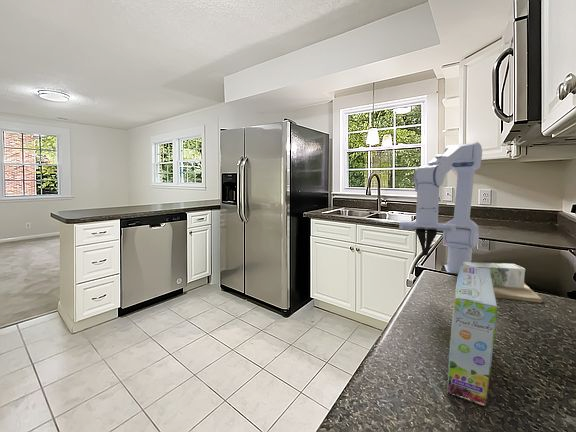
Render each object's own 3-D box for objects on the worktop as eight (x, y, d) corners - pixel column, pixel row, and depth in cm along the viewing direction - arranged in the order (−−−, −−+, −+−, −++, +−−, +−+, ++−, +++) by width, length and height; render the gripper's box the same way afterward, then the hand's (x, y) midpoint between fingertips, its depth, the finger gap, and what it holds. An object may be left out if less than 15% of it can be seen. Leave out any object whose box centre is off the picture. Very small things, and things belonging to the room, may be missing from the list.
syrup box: (461, 278, 92) (513, 281, 89) (469, 285, 86) (525, 288, 83) (462, 261, 91) (514, 263, 89) (470, 266, 85) (526, 268, 83)
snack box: (491, 411, 40) (499, 306, 38) (445, 395, 43) (451, 297, 41) (485, 340, 58) (490, 266, 56) (452, 333, 61) (456, 262, 59)
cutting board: (469, 279, 94) (469, 276, 94) (523, 285, 88) (523, 282, 88) (478, 295, 81) (478, 291, 81) (541, 302, 76) (542, 299, 76)
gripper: (399, 208, 82) (397, 255, 84) (458, 210, 77) (455, 260, 78) (400, 206, 89) (398, 250, 90) (454, 208, 83) (452, 254, 85)
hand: (425, 254), depth 85 cm, fingers closed
